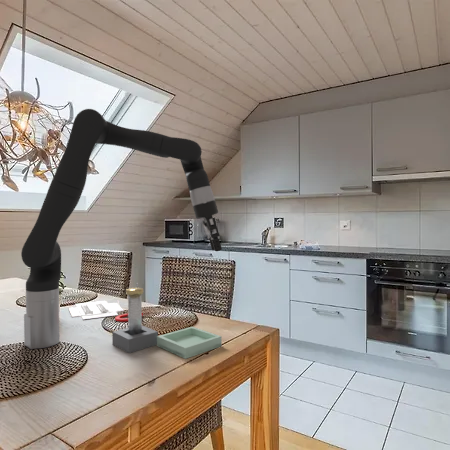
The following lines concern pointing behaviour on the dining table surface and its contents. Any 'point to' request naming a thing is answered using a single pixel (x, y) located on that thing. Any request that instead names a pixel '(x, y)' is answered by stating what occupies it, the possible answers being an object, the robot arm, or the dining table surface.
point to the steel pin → (134, 310)
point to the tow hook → (119, 317)
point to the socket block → (134, 339)
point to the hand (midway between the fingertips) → (216, 250)
